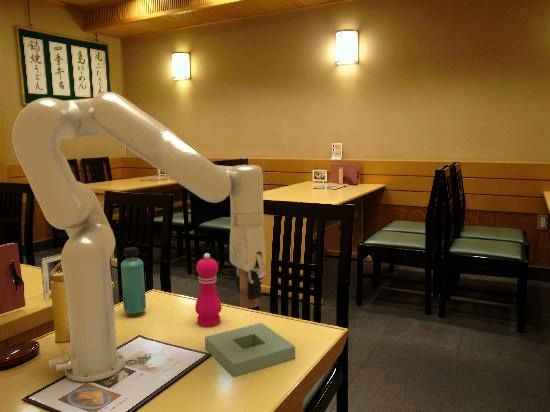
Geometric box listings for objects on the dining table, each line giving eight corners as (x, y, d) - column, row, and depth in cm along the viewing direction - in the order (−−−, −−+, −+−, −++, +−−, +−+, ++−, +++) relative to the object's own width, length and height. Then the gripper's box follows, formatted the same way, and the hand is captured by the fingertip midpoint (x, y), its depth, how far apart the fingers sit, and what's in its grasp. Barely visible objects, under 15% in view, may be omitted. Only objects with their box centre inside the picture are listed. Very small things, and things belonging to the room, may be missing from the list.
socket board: (234, 377, 102) (233, 364, 101) (205, 348, 115) (204, 336, 115) (295, 358, 110) (295, 346, 110) (261, 333, 124) (261, 322, 123)
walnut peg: (245, 309, 108) (244, 271, 106) (237, 303, 112) (236, 267, 110) (262, 305, 110) (261, 268, 109) (253, 299, 114) (252, 264, 112)
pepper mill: (208, 330, 126) (206, 258, 123) (190, 323, 130) (187, 253, 127) (227, 321, 132) (225, 252, 128) (208, 315, 136) (206, 248, 133)
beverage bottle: (151, 312, 138) (148, 246, 135) (133, 320, 133) (129, 251, 129) (136, 308, 142) (132, 244, 138) (118, 315, 136) (114, 248, 133)
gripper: (217, 215, 113) (219, 288, 116) (250, 227, 98) (252, 309, 101) (244, 212, 117) (246, 282, 120) (280, 223, 102) (281, 302, 105)
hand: (249, 294), depth 110 cm, fingers closed on walnut peg, 4 cm apart
